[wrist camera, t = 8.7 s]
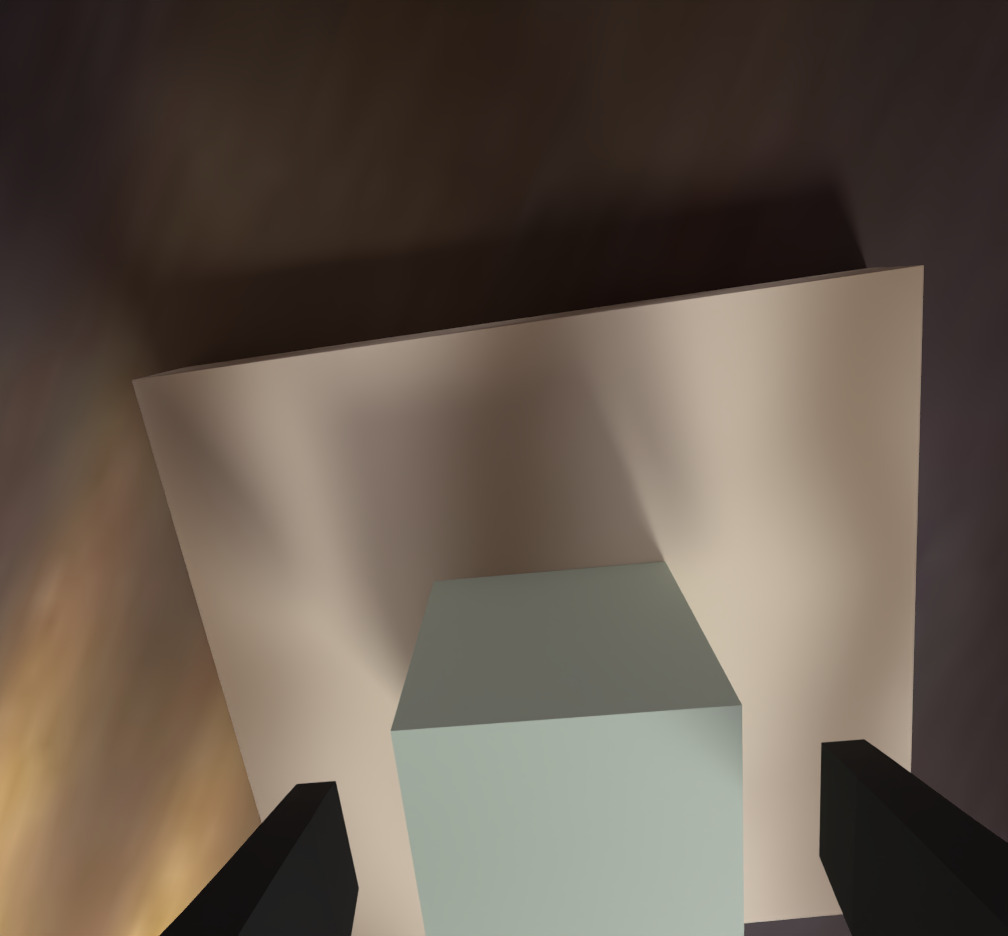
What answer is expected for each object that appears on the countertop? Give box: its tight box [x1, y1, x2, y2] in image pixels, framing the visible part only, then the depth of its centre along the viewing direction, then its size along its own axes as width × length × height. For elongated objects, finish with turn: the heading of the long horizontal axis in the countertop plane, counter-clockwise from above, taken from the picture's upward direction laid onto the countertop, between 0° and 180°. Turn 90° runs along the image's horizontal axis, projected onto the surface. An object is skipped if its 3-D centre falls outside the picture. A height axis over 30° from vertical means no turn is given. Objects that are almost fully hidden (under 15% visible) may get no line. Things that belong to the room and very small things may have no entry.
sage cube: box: [390, 562, 744, 936], centre depth 11 cm, size 4×4×4 cm
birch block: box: [132, 265, 924, 936], centre depth 15 cm, size 14×14×2 cm
